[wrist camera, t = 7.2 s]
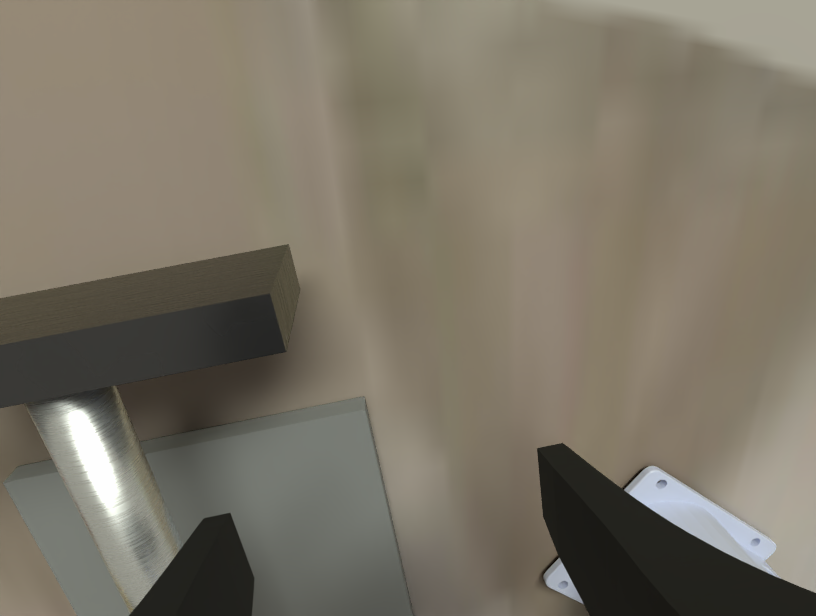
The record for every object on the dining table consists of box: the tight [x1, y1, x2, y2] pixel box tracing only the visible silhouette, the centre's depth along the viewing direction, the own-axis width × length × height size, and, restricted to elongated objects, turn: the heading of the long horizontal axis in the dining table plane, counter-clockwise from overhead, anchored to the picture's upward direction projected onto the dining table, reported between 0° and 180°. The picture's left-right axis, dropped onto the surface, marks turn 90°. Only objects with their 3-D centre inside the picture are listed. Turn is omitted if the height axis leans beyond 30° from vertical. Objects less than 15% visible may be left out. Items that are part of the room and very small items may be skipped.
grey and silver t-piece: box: [0, 244, 300, 614], centre depth 18 cm, size 22×12×4 cm, turn 9°
